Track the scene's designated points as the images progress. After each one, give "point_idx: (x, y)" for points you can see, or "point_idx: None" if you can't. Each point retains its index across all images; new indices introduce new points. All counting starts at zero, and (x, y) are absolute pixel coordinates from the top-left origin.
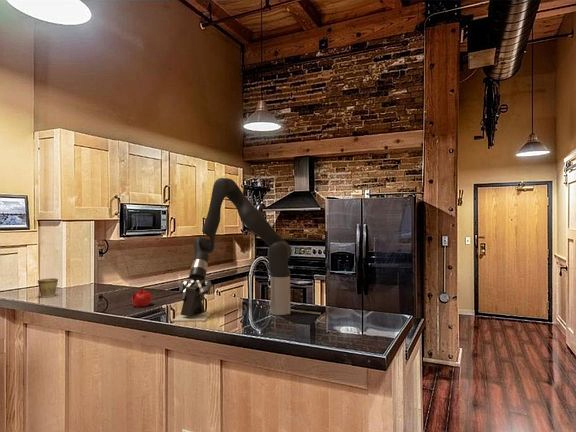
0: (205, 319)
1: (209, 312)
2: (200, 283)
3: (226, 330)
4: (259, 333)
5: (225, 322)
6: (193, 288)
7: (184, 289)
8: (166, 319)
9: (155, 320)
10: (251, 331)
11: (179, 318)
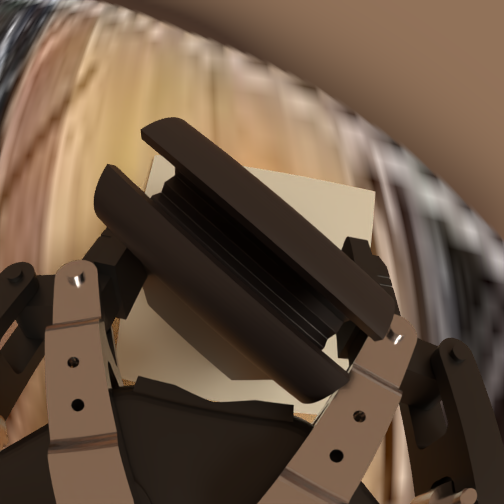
0: (150, 172)
1: (129, 378)
2: (58, 449)
3: (88, 24)
4: (17, 19)
5: (56, 132)
6: (212, 153)
7: (408, 362)
8: (418, 260)
9: (467, 247)
10: (24, 30)
11: (337, 228)
